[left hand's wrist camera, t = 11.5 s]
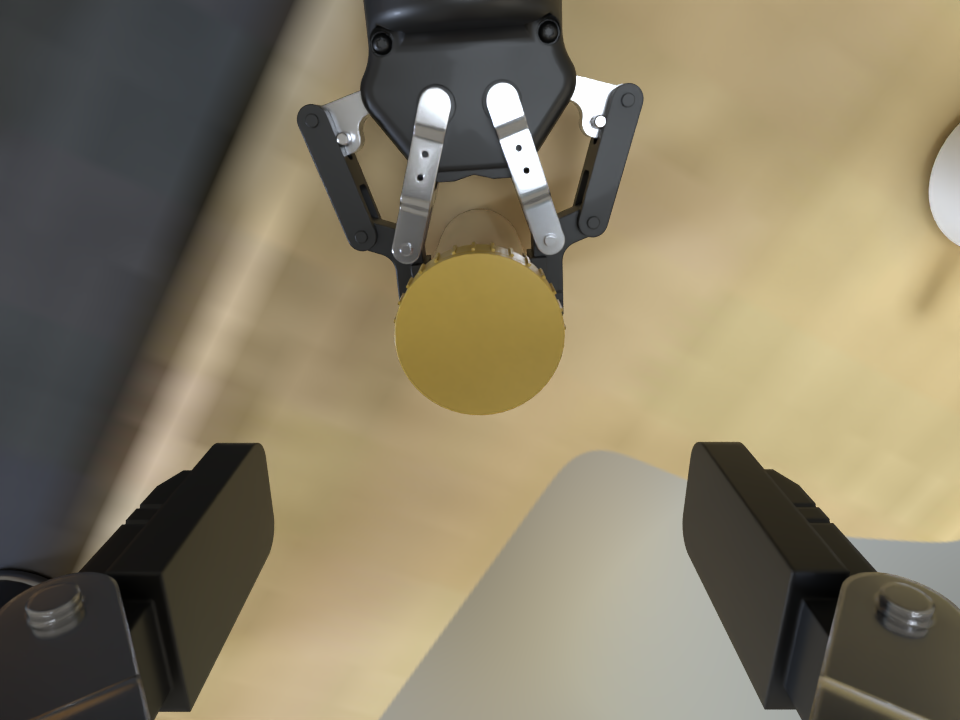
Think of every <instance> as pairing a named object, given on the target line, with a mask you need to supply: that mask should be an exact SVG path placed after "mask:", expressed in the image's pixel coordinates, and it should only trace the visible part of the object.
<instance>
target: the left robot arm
mask: <svg viewBox="0 0 960 720" xmlns="http://www.w3.org/2000/svg"><path fill="white" fill-rule="evenodd" d="M829 520H830V519H829V518H828V517H827V516H826V515H825V514H824V512H823V511H822V510H821V509H820V508H819V507H816V504H815V502H814V501H813V500H812V499H811V498H810V497H809V496H808V495H807V494H806V493H805V491H804V490H803V489H802V488H801V487H800V486H799V485H798V484H796V483H794V482H793V481H791V480H789V479H788V478H786V477H784V476H783V475H781V474H779V473H778V472H776V471H775V470H773V469H764V468H763V467H762V466H761V465H760V464H759V462H758V461H757V460H756V459H755V458H754V457H753V455H752V454H751V453H750V452H749V451H748V449H747V448H746V447H745V446H744V445H743V444H742V443H740V442H697V443H696V444H695V445H694V446H693V449H692V452H691V458H690V466H689V474H688V481H687V489H686V497H685V504H684V512H683V536H684V542H685V546H686V550H687V553H688V555H689V557H690V559H691V561H692V563H693V565H694V567H695V569H696V571H697V573H698V575H699V577H700V579H701V581H702V583H703V585H704V587H705V589H706V591H707V593H708V595H709V597H710V599H711V601H712V604H713V606H714V607H715V610H716V612H717V614H718V616H719V618H720V620H721V622H722V624H723V626H724V628H725V630H726V632H727V634H728V636H729V638H730V640H731V642H732V644H733V646H734V648H735V650H736V652H737V654H738V656H739V658H740V660H741V662H742V664H743V666H744V668H745V670H746V672H747V674H748V676H749V679H750V681H751V683H752V685H753V687H754V689H755V691H756V693H757V695H758V697H759V699H760V701H761V703H762V705H763V707H764V709H796V710H797V712H798V714H799V715H800V717H801V719H802V720H960V609H959V608H958V607H957V606H956V605H955V604H954V603H952V602H951V601H950V600H949V599H947V598H946V597H944V596H943V595H941V594H940V593H938V592H936V591H935V590H933V589H931V588H929V587H927V586H925V585H923V584H920V583H918V582H916V581H913V580H910V579H907V578H904V577H901V576H897V575H892V574H887V573H880V572H877V571H876V570H875V569H874V568H873V567H872V566H871V564H870V563H869V562H868V561H867V560H866V559H865V558H864V557H863V556H862V555H861V553H860V552H859V551H858V550H857V549H856V548H855V547H854V546H853V545H852V544H851V542H850V541H849V540H848V539H847V538H846V537H845V536H844V535H843V533H842V532H841V531H840V530H839V529H838V528H837V527H836V526H835V525H834V524H833V523H830V521H829ZM273 536H274V515H273V507H272V500H271V492H270V485H269V477H268V470H267V462H266V455H265V451H264V448H263V446H262V445H261V444H260V443H216V444H214V445H213V446H212V447H211V448H210V449H209V451H208V452H207V453H206V454H205V455H204V456H203V458H202V459H201V460H200V461H199V462H198V464H197V465H196V466H195V467H194V468H193V469H192V470H183V471H182V472H180V473H178V474H177V475H175V476H173V477H172V478H170V479H168V480H167V481H165V482H163V483H162V484H160V485H158V486H157V487H156V488H155V489H154V490H153V491H152V492H151V493H150V495H149V496H148V497H147V498H146V499H145V500H144V501H143V502H142V503H141V504H140V509H136V510H135V511H134V512H133V513H132V514H131V515H130V517H129V518H128V519H127V520H126V524H125V525H121V526H120V527H119V529H118V530H117V531H116V532H115V533H114V534H113V535H112V536H111V537H110V538H109V540H108V541H107V542H106V543H105V544H104V545H103V546H102V547H101V548H100V549H99V551H98V552H97V553H96V554H95V555H94V556H93V557H92V558H91V559H90V560H89V561H88V563H87V564H86V565H85V566H84V567H83V568H82V569H81V570H80V571H79V572H78V573H73V574H68V575H63V576H59V577H56V578H53V579H50V580H49V579H47V578H44V577H42V576H39V575H36V574H32V573H28V572H23V571H15V570H0V720H154V719H155V717H156V716H157V714H158V712H190V711H191V709H192V707H193V705H194V703H195V701H196V699H197V697H198V695H199V693H200V691H201V689H202V687H203V685H204V683H205V681H206V679H207V677H208V675H209V673H210V671H211V669H212V667H213V665H214V663H215V661H216V659H217V657H218V655H219V653H220V651H221V649H222V647H223V645H224V643H225V641H226V639H227V637H228V635H229V633H230V631H231V629H232V627H233V625H234V623H235V621H236V619H237V617H238V615H239V613H240V611H241V609H242V607H243V605H244V603H245V601H246V599H247V597H248V595H249V593H250V591H251V589H252V587H253V585H254V583H255V581H256V579H257V577H258V575H259V573H260V571H261V569H262V567H263V565H264V563H265V561H266V559H267V557H268V555H269V553H270V550H271V547H272V542H273Z"/></svg>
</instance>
